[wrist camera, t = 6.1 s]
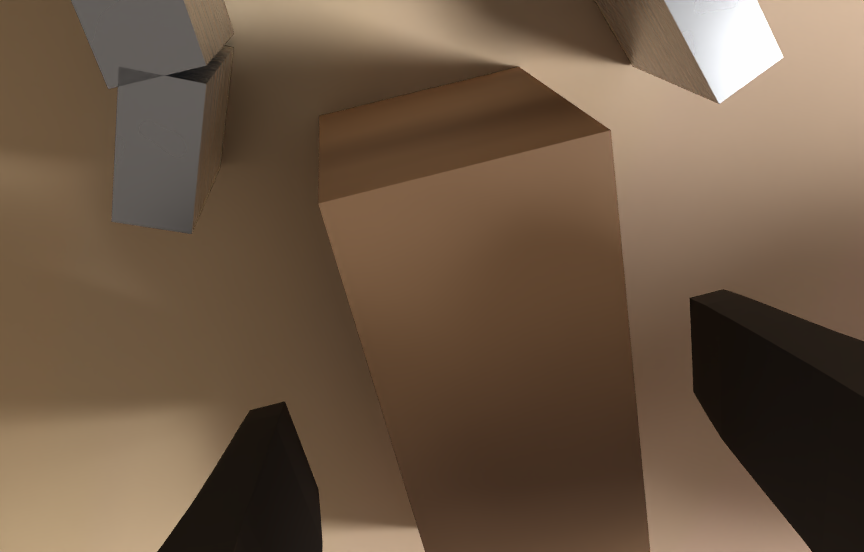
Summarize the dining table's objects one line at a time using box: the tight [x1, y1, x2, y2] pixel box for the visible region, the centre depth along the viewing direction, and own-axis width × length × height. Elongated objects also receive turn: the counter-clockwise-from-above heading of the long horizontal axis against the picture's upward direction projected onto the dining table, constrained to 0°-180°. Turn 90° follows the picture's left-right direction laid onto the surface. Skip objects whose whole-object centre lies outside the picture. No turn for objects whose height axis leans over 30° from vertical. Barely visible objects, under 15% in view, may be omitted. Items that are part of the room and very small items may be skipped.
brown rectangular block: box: [318, 67, 650, 552], centre depth 12 cm, size 10×4×4 cm, turn 12°
